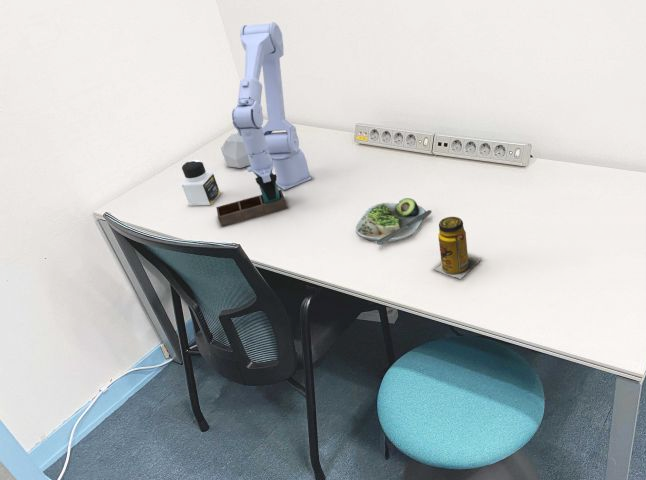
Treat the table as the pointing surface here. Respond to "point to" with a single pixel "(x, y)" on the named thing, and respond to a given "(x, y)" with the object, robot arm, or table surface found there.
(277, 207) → the rack
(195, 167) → the medicine bottle
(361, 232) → the salad plate
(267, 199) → the jar
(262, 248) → the table surface
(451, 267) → the condiment
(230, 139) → the rock
